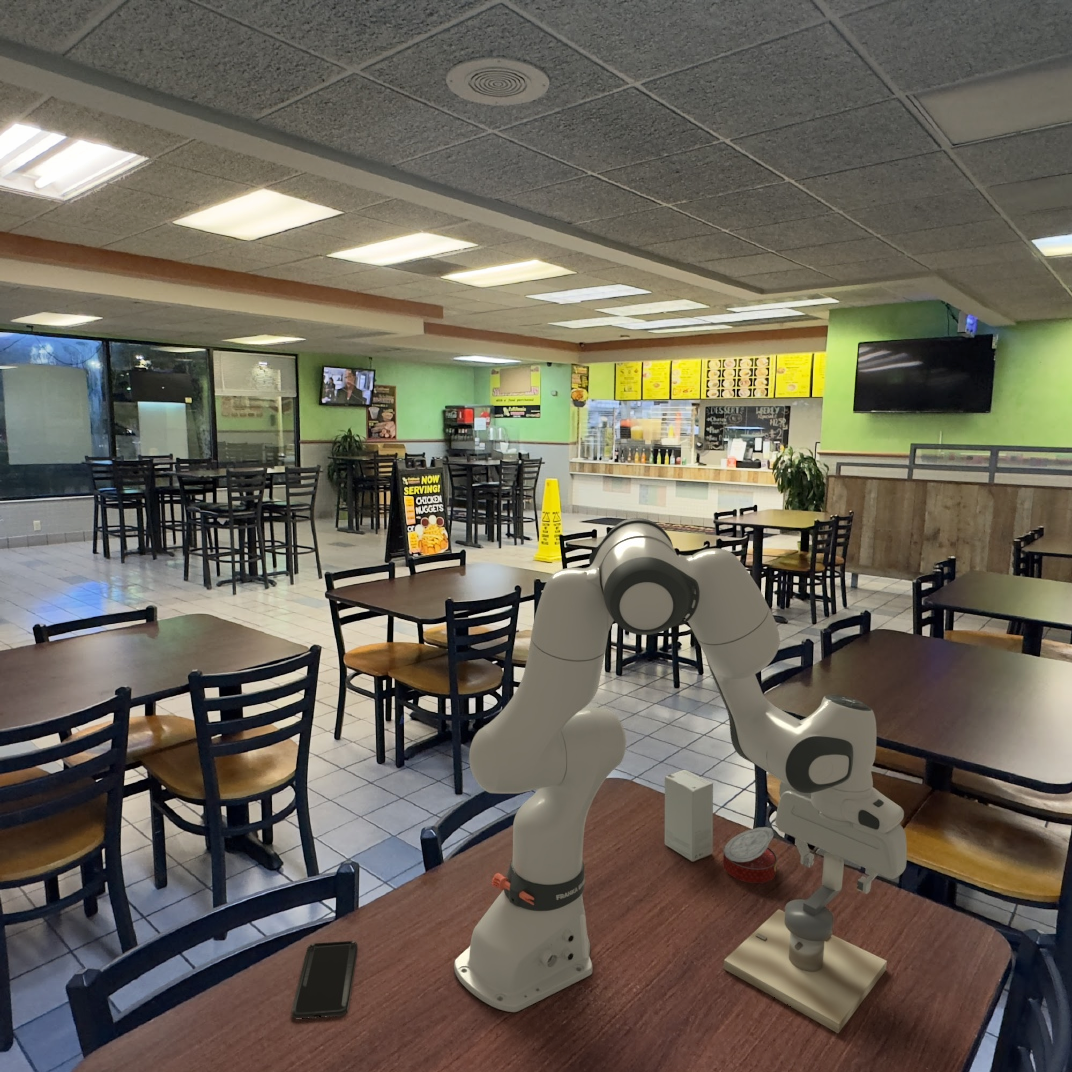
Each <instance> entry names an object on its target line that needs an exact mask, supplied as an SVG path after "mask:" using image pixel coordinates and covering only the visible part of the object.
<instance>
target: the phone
mask: <svg viewBox="0 0 1072 1072" xmlns="http://www.w3.org/2000/svg"><path fill="white" fill-rule="evenodd" d="M357 955H358V943H357V942H356V941H354V940H349V941H348V940H347V941H344V940H343V941H331V942H317V943H316V942H315V943H312V944H310V945H308V947H307V949H306V952H305V955H304V960H303V965H302V968H301V973H300V976H299V979H298V983H297V987H296V988H297V989H296V991H295V995H294V1000H293V1004H292V1008H291V1016H293V1017H294V1018H308V1017H309V1018H312V1019H315V1018H314V1017H319V1016H321V1017H325V1016H327V1017H325V1018H335V1016H337V1017H342V1016H345V1015H346V1014H347V1013H348V1011H349V1007H350V1000H351V995H352V987H353V981H354V975H355V967H356V961H357V957H358V956H357ZM329 1016H330V1017H329ZM332 1016H334V1017H332ZM293 1017H292V1018H293ZM294 1018H293V1019H294Z"/></svg>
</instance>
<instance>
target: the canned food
mask: <svg viewBox="0 0 1072 1072" xmlns="http://www.w3.org/2000/svg"><path fill="white" fill-rule="evenodd" d="M774 835H775V833H774V831H773V829H772V828H770V827H767V826H763V827H756V828H752V829H748V830H745V831H743V832H740V833H738V834H736V835H735V836H734V837H732V838H730V840H729V841H728V842H727V843H726V844H725V846H724V847H723V858H722V860H723V861H722V866H723V869H724V870H725V872H726V873H727V874H728V875H730V876H731V877H733V878H735V879H736V880H740V881H743V882H745V883H751V884H762V883H763V884H764V883H767V882H770V881H773V879H774V878H775V877H776V875H777V864H778V862H777V861H778V858H777V857H778V856H777V855H776V853H775V852H774V851H773V849H771V848H770V847H769V845H770V843H771V841H772V840H773V839H774Z"/></svg>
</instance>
